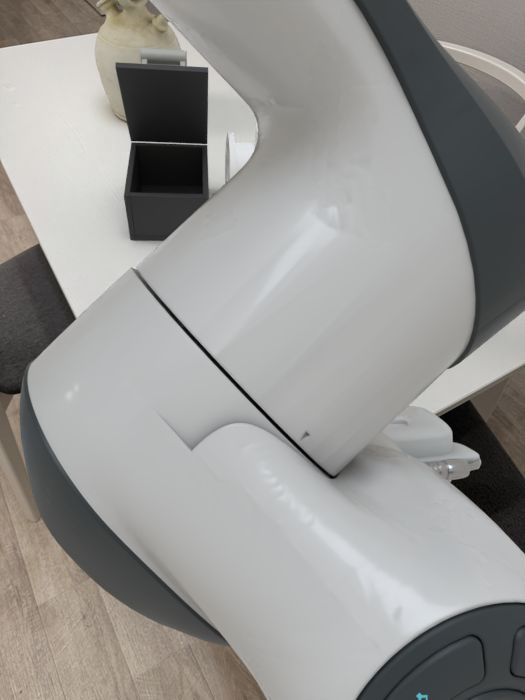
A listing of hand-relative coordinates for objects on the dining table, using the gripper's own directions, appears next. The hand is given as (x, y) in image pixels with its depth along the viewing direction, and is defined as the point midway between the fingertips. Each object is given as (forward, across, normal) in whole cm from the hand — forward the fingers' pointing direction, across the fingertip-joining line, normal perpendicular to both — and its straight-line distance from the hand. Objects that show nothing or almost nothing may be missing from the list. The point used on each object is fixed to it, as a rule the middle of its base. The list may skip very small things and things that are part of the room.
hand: (273, 420), depth 41 cm
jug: (+68, +13, -46) cm, 83 cm away
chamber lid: (+37, +8, -36) cm, 52 cm away
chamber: (+45, +8, -23) cm, 51 cm away
